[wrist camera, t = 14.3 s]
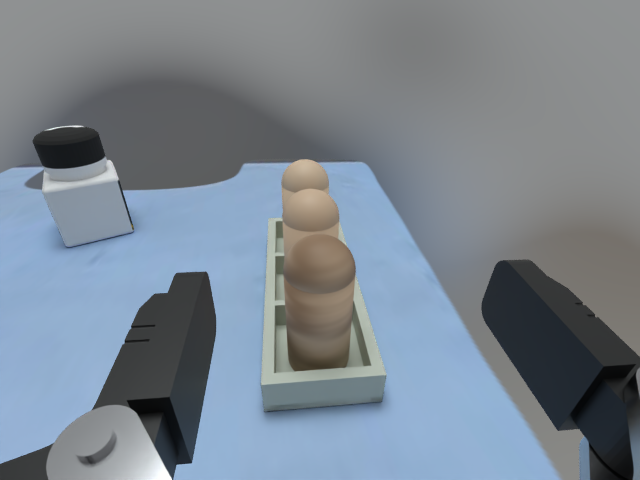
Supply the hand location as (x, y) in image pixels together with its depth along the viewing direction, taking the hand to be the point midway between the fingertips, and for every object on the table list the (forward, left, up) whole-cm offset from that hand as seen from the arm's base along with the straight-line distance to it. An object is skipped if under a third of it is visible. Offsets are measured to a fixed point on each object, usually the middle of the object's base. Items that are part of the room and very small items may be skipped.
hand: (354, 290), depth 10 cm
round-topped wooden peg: (-9, +5, -15) cm, 18 cm away
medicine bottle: (-41, -5, -16) cm, 45 cm away
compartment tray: (-15, +9, -16) cm, 24 cm away
